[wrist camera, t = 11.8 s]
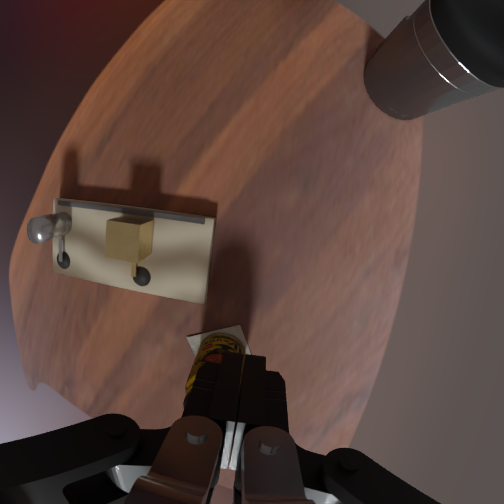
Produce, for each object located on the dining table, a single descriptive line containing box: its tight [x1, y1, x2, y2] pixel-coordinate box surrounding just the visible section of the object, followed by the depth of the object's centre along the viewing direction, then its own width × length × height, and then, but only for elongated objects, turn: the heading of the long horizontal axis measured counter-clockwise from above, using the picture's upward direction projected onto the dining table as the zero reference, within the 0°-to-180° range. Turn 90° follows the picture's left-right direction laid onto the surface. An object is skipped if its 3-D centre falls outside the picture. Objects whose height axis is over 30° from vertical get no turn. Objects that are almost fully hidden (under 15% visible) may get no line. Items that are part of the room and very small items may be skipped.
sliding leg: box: [105, 216, 154, 277], centre depth 32 cm, size 7×4×4 cm, turn 172°
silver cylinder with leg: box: [27, 212, 72, 262], centre depth 31 cm, size 6×3×6 cm, turn 172°
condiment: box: [183, 325, 251, 409], centre depth 33 cm, size 7×8×12 cm
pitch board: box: [53, 198, 216, 304], centre depth 35 cm, size 10×22×2 cm, turn 82°
